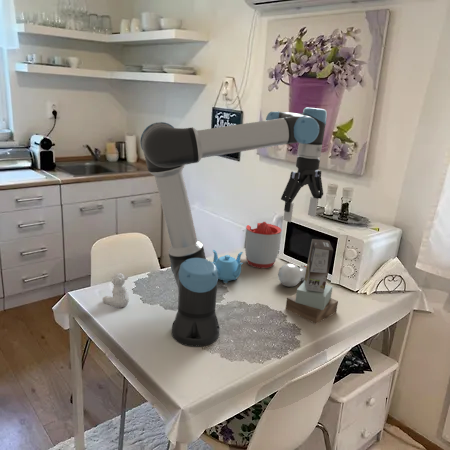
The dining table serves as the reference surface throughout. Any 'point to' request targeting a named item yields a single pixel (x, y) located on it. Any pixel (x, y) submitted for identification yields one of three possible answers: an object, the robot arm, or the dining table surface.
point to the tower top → (313, 297)
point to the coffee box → (318, 265)
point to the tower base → (311, 309)
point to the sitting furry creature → (118, 292)
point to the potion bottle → (291, 274)
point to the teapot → (227, 267)
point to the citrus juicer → (262, 245)
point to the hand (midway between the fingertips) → (299, 218)
